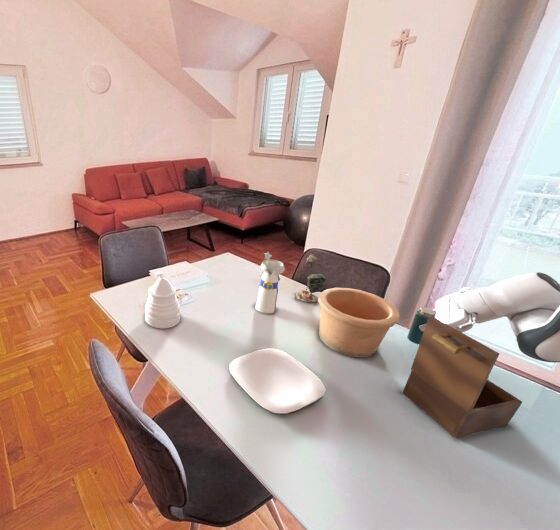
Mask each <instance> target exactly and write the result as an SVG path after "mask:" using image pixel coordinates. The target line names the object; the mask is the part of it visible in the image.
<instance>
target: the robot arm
mask: <svg viewBox="0 0 560 530" xmlns="http://www.w3.org/2000/svg"><path fill="white" fill-rule="evenodd" d="M434 302H435V303H434V304H435V305H434V308H432V309H433V310H435V311H436V314H435V318H436V319H438V320H440V321H442V322H443V323H445V324H447V325H449V326H451V327H453V328H454V329H456V330H458V331H460V332H462V333H465V332H467V331H469V330H471V329H472V328H473V326H474V325H476V324H479V325H480V324H483V323H486V322H490V321H494V320H498V319H501V318H504V317H505V318H507V321H508V323H509V326H510V328H511V330H512V332H513V334H514V336H515V338H516V343H517V346H518V349H519V351H520V352H521V353H522V354H523V355H525V356H527V357H529V358H532V359H534V360H537V361H540V362H545V363H560V283H559V282H558V281H557V280H556V279H554V278H553V277H551V276H550V275H548V274H547V273H544V272H540V271H539V272H538V271H537V272H529V273H524V274H518V275H515V276H512V277H509V278H506V279H502V280H499V281H497V282H495V283H494V284H492V285H489V286H485V287H478V288H475V289H473V288H471V287H469V286H465V287H462V288H461V289H459V291H455V292H452V293H450V294H447V295H445V296H443V297H440V298H438V299H437V300H435V301H434ZM425 327H426V324H425V323H422V324H420V325H419V329H420V330H421V331H424V330H425Z"/></svg>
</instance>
